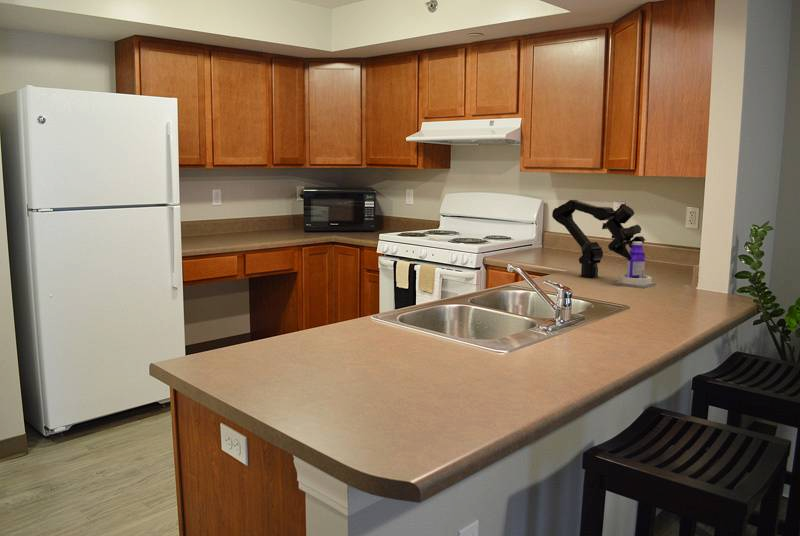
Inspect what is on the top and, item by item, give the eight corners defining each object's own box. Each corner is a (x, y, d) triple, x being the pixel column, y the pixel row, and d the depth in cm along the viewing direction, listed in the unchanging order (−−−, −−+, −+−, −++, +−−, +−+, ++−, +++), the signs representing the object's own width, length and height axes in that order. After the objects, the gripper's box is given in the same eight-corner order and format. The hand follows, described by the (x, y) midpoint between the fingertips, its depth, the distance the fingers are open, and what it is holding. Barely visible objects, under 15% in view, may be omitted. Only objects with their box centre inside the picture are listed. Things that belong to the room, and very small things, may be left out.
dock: (613, 284, 287) (614, 276, 286) (627, 281, 296) (627, 273, 296) (643, 288, 278) (644, 280, 277) (656, 284, 287) (656, 276, 287)
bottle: (637, 280, 291) (639, 240, 288) (646, 282, 286) (648, 242, 283) (623, 281, 288) (625, 241, 286) (632, 283, 283) (634, 242, 281)
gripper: (615, 219, 281) (636, 248, 274) (642, 217, 292) (663, 245, 285) (599, 236, 289) (619, 264, 282) (626, 234, 300) (646, 261, 292)
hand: (637, 258), depth 285 cm, fingers open, 9 cm apart
